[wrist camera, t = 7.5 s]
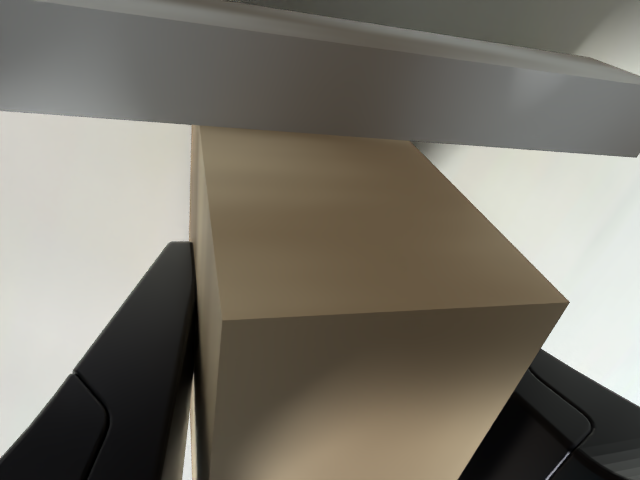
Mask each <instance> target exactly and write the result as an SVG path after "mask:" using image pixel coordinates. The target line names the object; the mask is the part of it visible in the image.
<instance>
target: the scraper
mask: <svg viewBox="0 0 640 480" xmlns="http://www.w3.org/2000/svg"><path fill="white" fill-rule="evenodd" d="M0 111H11V112H24V113H38V114H52V115H65V116H79V117H92V118H106V119H120V120H133V121H147V122H160V123H174V124H187V125H192V133H191V177H190V221H189V242H192V243H193V249H194V260H195V272H196V284H197V295H196V322H195V350H194V374H193V384H192V393H191V402H190V426H191V457H192V480H458V478H459V476H460V475H461V473H462V472H463V470H464V469H465V467H466V465H467V464H468V462H469V461H470V459H471V458H472V456H473V454H474V453H475V451H476V450H477V448H478V446H479V445H480V443H481V442H482V440H483V439H484V437H485V435H486V434H487V432H488V431H489V429H490V428H491V426H492V424H493V423H494V421H495V420H496V418H497V416H498V415H499V413H500V412H501V410H502V409H503V407H504V405H505V404H506V402H507V401H508V399H509V397H510V396H511V394H512V393H513V391H514V390H515V388H516V386H517V385H518V383H519V382H520V380H521V379H522V377H523V375H524V374H525V372H526V371H527V369H528V367H529V366H530V364H531V363H532V361H533V360H534V358H535V356H536V355H537V353H538V352H539V350H540V349H541V347H542V345H543V344H544V342H545V341H546V339H547V337H548V336H549V334H550V333H551V331H552V330H553V328H554V326H555V325H556V323H557V322H558V320H559V319H560V317H561V315H562V314H563V312H564V311H565V309H566V307H567V306H568V304H569V303H570V302H569V301H568V300H567V299H566V298H565V297H564V296H563V295H562V294H561V293H560V292H559V291H558V290H557V289H556V288H555V287H554V286H553V285H552V284H551V283H550V282H549V281H548V280H547V279H546V278H545V277H544V276H543V275H542V274H541V273H540V272H539V271H538V270H537V269H536V268H535V267H534V266H533V265H532V264H531V263H530V262H529V261H528V260H527V259H526V258H525V257H524V256H523V255H522V254H521V253H520V252H519V251H518V250H517V249H516V248H515V247H514V246H513V245H512V243H511V242H510V241H509V240H508V239H507V238H506V237H505V236H504V235H503V234H502V233H501V232H500V231H499V230H498V229H497V228H496V227H495V226H494V225H493V224H492V223H491V222H490V221H489V220H488V219H487V218H486V217H485V216H484V215H483V214H482V213H481V212H480V211H479V210H478V209H477V208H476V207H475V206H474V205H473V204H472V203H471V202H470V201H469V200H468V199H467V198H466V197H465V196H464V195H463V194H462V193H461V192H460V191H459V190H458V189H457V188H456V187H455V186H454V185H453V184H452V183H451V182H450V181H449V180H448V179H447V178H446V177H445V176H444V175H443V174H442V173H441V172H440V171H439V170H438V169H437V168H436V167H435V166H434V165H433V164H432V163H431V162H430V161H429V160H428V159H427V158H426V157H425V156H424V155H423V154H422V153H421V152H420V151H419V150H418V149H417V148H416V147H415V146H414V145H413V144H412V143H411V142H410V141H418V142H432V143H446V144H459V145H473V146H486V147H500V148H513V149H527V150H541V151H554V152H568V153H581V154H595V155H609V156H622V157H636V158H637V156H638V154H639V153H640V76H638V75H636V74H633V73H630V72H628V71H625V70H622V69H620V68H617V67H614V66H611V65H609V64H606V63H603V62H601V61H598V60H595V59H593V58H590V57H583V56H577V55H570V54H564V53H558V52H551V51H545V50H538V49H532V48H526V47H519V46H513V45H506V44H500V43H494V42H487V41H481V40H474V39H468V38H462V37H455V36H449V35H442V34H436V33H430V32H423V31H417V30H410V29H404V28H398V27H391V26H385V25H378V24H372V23H366V22H359V21H353V20H346V19H340V18H334V17H327V16H321V15H314V14H308V13H302V12H295V11H289V10H282V9H276V8H270V7H263V6H257V5H250V4H244V3H238V2H231V1H225V0H0Z"/></svg>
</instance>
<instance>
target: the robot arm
mask: <svg viewBox="0 0 640 480" xmlns="http://www.w3.org/2000/svg"><path fill="white" fill-rule="evenodd" d="M196 295H197V284H196V272H195V260H194V249H193V243H192V242H174V241H173V242H170V243H168V244H167V246H166V247H165V248H164V250H163V251H162V252H161V254H160V255H159V256H158V258H157V259H156V260H155V262H154V263H153V264H152V266H151V267H150V268H149V270H148V271H147V272H146V274H145V275H144V276H143V278H142V279H141V280H140V282H139V283H138V284H137V286H136V287H135V288H134V290H133V291H132V292H131V294H130V295H129V296H128V298H127V299H126V300H125V302H124V303H123V304H122V306H121V307H120V308H119V310H118V311H117V312H116V314H115V315H114V316H113V318H112V319H111V320H110V322H109V323H108V324H107V326H106V327H105V328H104V330H103V331H102V332H101V334H100V335H99V336H98V338H97V339H96V340H95V342H94V343H93V344H92V346H91V347H90V348H89V350H88V351H87V352H86V354H85V355H84V356H83V358H82V359H81V360H80V362H79V363H78V364H77V366H76V367H75V368H74V369H73V374H70V375H69V376H68V377H67V378H66V380H65V381H64V382H63V384H62V385H61V386H60V388H59V389H58V390H57V392H56V393H55V394H54V396H53V397H52V398H51V400H50V401H49V402H48V403H47V404H46V406H45V407H44V408H43V409H42V411H41V412H40V413H39V414H38V416H37V417H36V418H35V419H34V421H33V422H32V423H31V424H30V426H29V427H28V428H27V429H26V430H25V431H24V432H23V434H22V435H21V436H20V437H19V438H18V439H17V440H16V441H15V442H14V444H13V445H12V446H11V447H10V448H9V449H8V450H7V451H6V452H5V454H4V455H3V456H2V457H1V458H0V480H182V475H183V465H184V456H185V447H186V438H187V429H188V420H189V411H190V402H191V393H192V384H193V374H194V350H195V322H196ZM458 480H640V407H639V406H637V405H636V404H634V403H632V402H630V401H629V400H627V399H625V398H623V397H622V396H620V395H618V394H616V393H615V392H613V391H611V390H609V389H607V388H606V387H604V386H602V385H600V384H599V383H597V382H595V381H594V380H592V379H590V378H588V377H587V376H585V375H583V374H581V373H580V372H578V371H576V370H575V369H573V368H571V367H570V366H568V365H566V364H565V363H563V362H561V361H560V360H558V359H557V358H555V357H553V356H552V355H550V354H549V353H547V352H545V351H544V350H542V349H540V350H539V352H538V353H537V355H536V356H535V358H534V360H533V361H532V363H531V364H530V366H529V367H528V369H527V371H526V372H525V374H524V375H523V377H522V379H521V380H520V382H519V383H518V385H517V386H516V388H515V390H514V391H513V393H512V394H511V396H510V397H509V399H508V401H507V402H506V404H505V405H504V407H503V409H502V410H501V412H500V413H499V415H498V416H497V418H496V420H495V421H494V423H493V424H492V426H491V428H490V429H489V431H488V432H487V434H486V435H485V437H484V439H483V440H482V442H481V443H480V445H479V446H478V448H477V450H476V451H475V453H474V454H473V456H472V458H471V459H470V461H469V462H468V464H467V465H466V467H465V469H464V470H463V472H462V473H461V475H460V476H459V478H458Z"/></svg>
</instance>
